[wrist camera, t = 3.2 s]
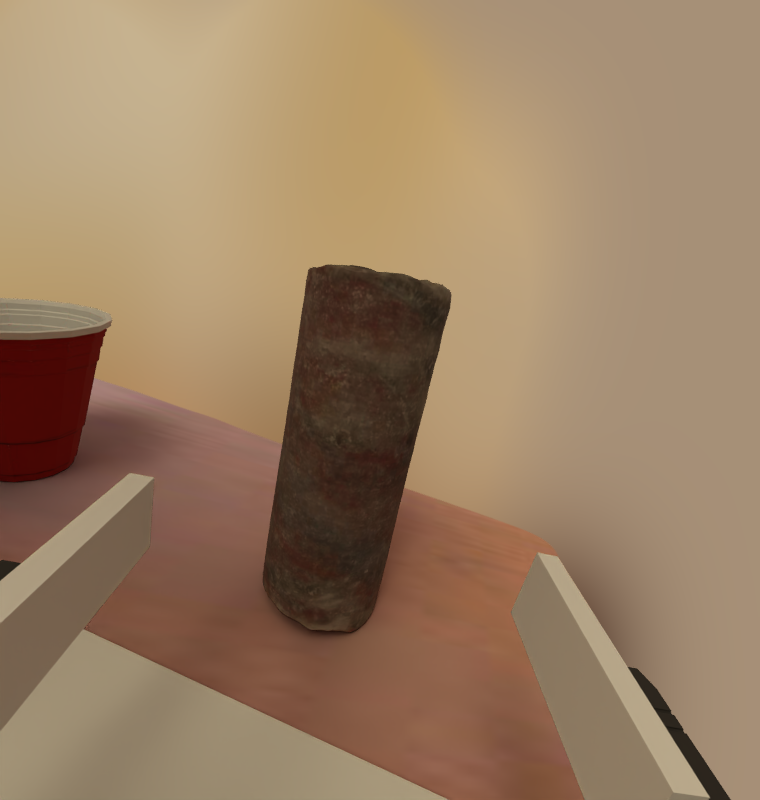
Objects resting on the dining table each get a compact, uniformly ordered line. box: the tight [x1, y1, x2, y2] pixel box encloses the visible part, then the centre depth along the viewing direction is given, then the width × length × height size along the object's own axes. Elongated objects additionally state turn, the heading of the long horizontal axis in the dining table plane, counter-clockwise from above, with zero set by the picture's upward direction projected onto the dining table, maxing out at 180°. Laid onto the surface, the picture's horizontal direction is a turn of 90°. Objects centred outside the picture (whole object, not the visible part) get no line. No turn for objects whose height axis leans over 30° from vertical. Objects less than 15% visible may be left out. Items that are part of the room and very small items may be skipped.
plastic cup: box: [0, 298, 112, 482], centre depth 28 cm, size 11×11×12 cm
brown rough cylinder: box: [263, 265, 451, 633], centre depth 22 cm, size 8×7×20 cm
